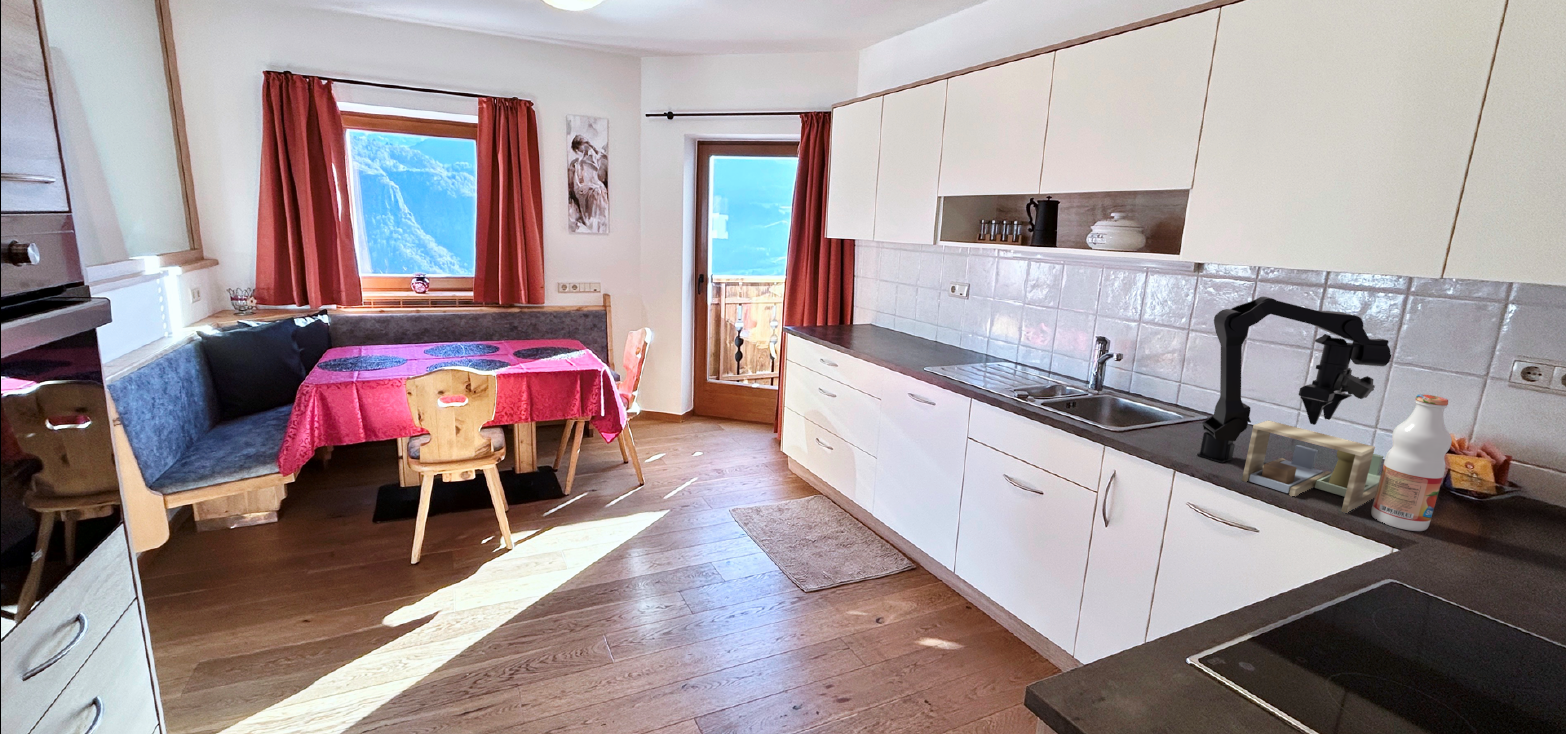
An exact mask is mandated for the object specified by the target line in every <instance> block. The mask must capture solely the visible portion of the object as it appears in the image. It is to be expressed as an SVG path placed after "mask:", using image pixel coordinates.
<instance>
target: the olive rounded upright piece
mask: <svg viewBox="0 0 1566 734" xmlns="http://www.w3.org/2000/svg"><path fill="white" fill-rule="evenodd" d="M1336 451H1337V452H1336V457H1337V459H1338V460H1337V462H1336V465H1335V466H1334V469H1333V471H1332V475H1331V478H1330V480H1329V482H1328V483H1331V484H1334V485H1337V486H1341V487H1344V488H1347V486H1348V482H1349V478H1350V474H1351V470H1352V466H1353V462H1354V458H1355V454H1351V453H1347V452H1343V451H1339V450H1336Z"/></svg>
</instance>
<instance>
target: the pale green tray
mask: <svg viewBox="0 0 1566 734" xmlns="http://www.w3.org/2000/svg"><path fill="white" fill-rule="evenodd" d="M1383 460H1384V456H1383V455H1381V454H1377V453H1373V457H1372V461H1371V465H1370V469H1369V472H1368V476H1367V480H1366V484H1365V488H1364V492H1366V491H1368V490H1369V489H1371V488H1373V487H1375V486H1377V485H1378V484H1379V480H1380V476H1381V474H1380V472H1381V467H1382V464H1383ZM1331 475H1332V474H1330V475H1327V476H1325V477H1323V478H1321V479H1319V480H1317V481H1316V485H1315V487H1314V488H1315V489H1318V490H1321V491H1325V492H1328V493H1331V494H1335V495H1338V496H1342V497H1344V498H1345V494H1346V490H1347V488H1344V487H1341V486H1337V485H1334V484H1331V483H1328V482H1329V480H1330V478H1331ZM1364 492H1363V493H1364Z"/></svg>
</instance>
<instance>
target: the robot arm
mask: <svg viewBox="0 0 1566 734" xmlns="http://www.w3.org/2000/svg"><path fill="white" fill-rule="evenodd" d="M1270 315H1273V316H1276V317H1277V316H1278V317H1280V318H1284V319H1285V318H1286V319H1287V320H1293V321H1297V322H1301V323H1305V324H1308V325H1311V326H1314V327H1316V328H1318V329H1320V330H1322V331H1325V332H1327V333H1328V334H1325V333H1323V335H1322V336H1320V337H1318V338H1316V339H1315V340H1314V342H1315V343H1318V344H1321V345H1323V348H1322V352H1321V357H1320V361H1319V364H1316V366H1315V370H1317V372H1316V373H1317V374H1316V377H1315V380H1312V383H1309V384H1305V385H1303V386H1302V387H1300V388H1299V391H1298V396H1299V397H1300V399H1301V400H1302V403H1303V405H1304V409H1305V411H1306V414H1307V418H1308V420H1309V421H1308V422H1309V424H1310V425H1313V426H1314V425H1317V423H1318V421H1319V419H1320V416H1321V415H1322V412H1323V417H1324V419H1325V420H1328V421H1330V420H1331V419H1332V417H1333V416H1334V415H1335V412H1336V411H1337V409H1338V407H1339V406H1340V404H1341V403H1342V401H1344V400H1346V399H1349V398H1351V397H1352V396H1354V397H1355V398H1357V399H1361V400H1363V399H1365V398H1368V396H1370V394H1371V393H1372V392H1373V391H1374V390H1375V386H1376V385H1374V378H1372V377H1370V376H1369V375H1367V376H1364V377H1362V378H1360V377H1359V376H1355V375H1352V371H1353V369H1352V367H1350V363H1351V361H1352V364H1354V365H1358V366H1359V365H1360V366H1370V367H1371V366H1372V367H1386V366H1387V365H1388V364H1389V363H1390V362H1391V358H1392V354H1391V347H1390V346H1389V340H1387V339H1385V338H1370V337H1369V336H1368V334H1367V333H1366V331H1365V329H1364V321H1363V320H1362V318H1361V317H1360V316H1358V315H1355V314H1351V313H1346V312H1343V311H1332V310H1319V309H1318V310H1317V309H1313V308H1308V307H1305V306H1300V305H1296V304H1293V303H1288V302H1284V301H1280V300H1277V299H1275V298H1273V297H1269V296H1260V297H1257V298H1255V299H1253V300H1251V301H1248V302H1246V303H1242V304H1239V305H1237V306H1234V307H1232V308H1225V309H1222V310H1220V311H1218V312H1217V313H1216V314H1215V315H1214V317H1213V318H1214V319H1213V324H1214V331H1215V334H1216V336H1217V339H1218V341H1219V344H1220V376H1219V377H1220V378H1219V379H1220V385H1219V386H1220V389H1219V391H1220V393H1219V399H1218V401H1217V402H1216V405H1214V406H1215V407H1214V413H1213V415H1212V416H1210V417H1208V418H1207V419H1205V420H1203V421H1202V422H1201V424H1202V428H1203V429H1202V430H1204V431H1205V432H1203V434H1202V440H1201V446H1200V451H1199V452H1197V453H1196V456H1198V457H1202V458H1204V459H1208V460H1211V461H1214V462H1218V463H1221V464H1223V463H1226V462H1228V461H1231V460H1233V459H1234V458H1233V456H1234V452H1235V446H1236V444H1235V443H1234V442H1236V441H1237V440H1238V437H1239V436H1240V435H1241V434H1242V433H1243V432H1244V431H1245V430H1247V428H1248V425H1249V423H1250V424H1251V423H1252V421H1251V419H1250V415H1251V407H1250V406H1249V405H1247V404H1246V403H1244V402H1243V401H1242V356H1243V355H1242V354H1243V352H1242V350H1243V349H1242V347H1243V344H1244V342H1245V340H1246V338H1247V337H1248V333H1249V328H1250V327H1253V325H1256V324H1258V323H1259V322H1261V321H1262V320H1263V319H1264V318H1266V317H1268V316H1270ZM1330 334H1331V335H1335V336H1338V337H1341V338H1338V337H1332V336H1331V335H1330ZM1346 340H1349V341H1352V342H1347V341H1346Z"/></svg>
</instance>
